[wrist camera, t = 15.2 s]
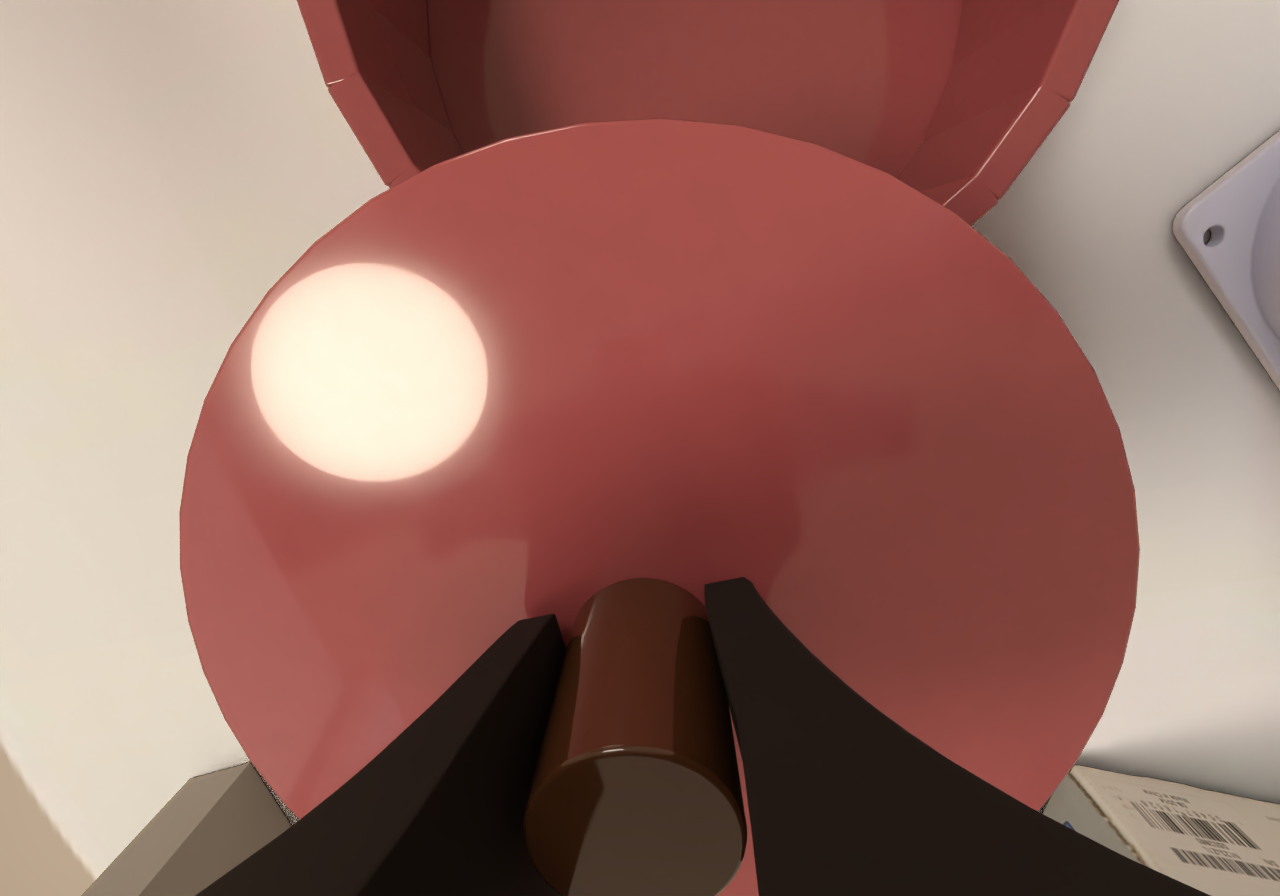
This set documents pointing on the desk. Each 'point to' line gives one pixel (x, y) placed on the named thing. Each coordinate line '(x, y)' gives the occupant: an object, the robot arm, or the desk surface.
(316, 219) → the desk surface
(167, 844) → the cassette player
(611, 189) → the lid
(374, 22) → the pot
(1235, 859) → the hard drive box
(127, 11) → the desk surface
